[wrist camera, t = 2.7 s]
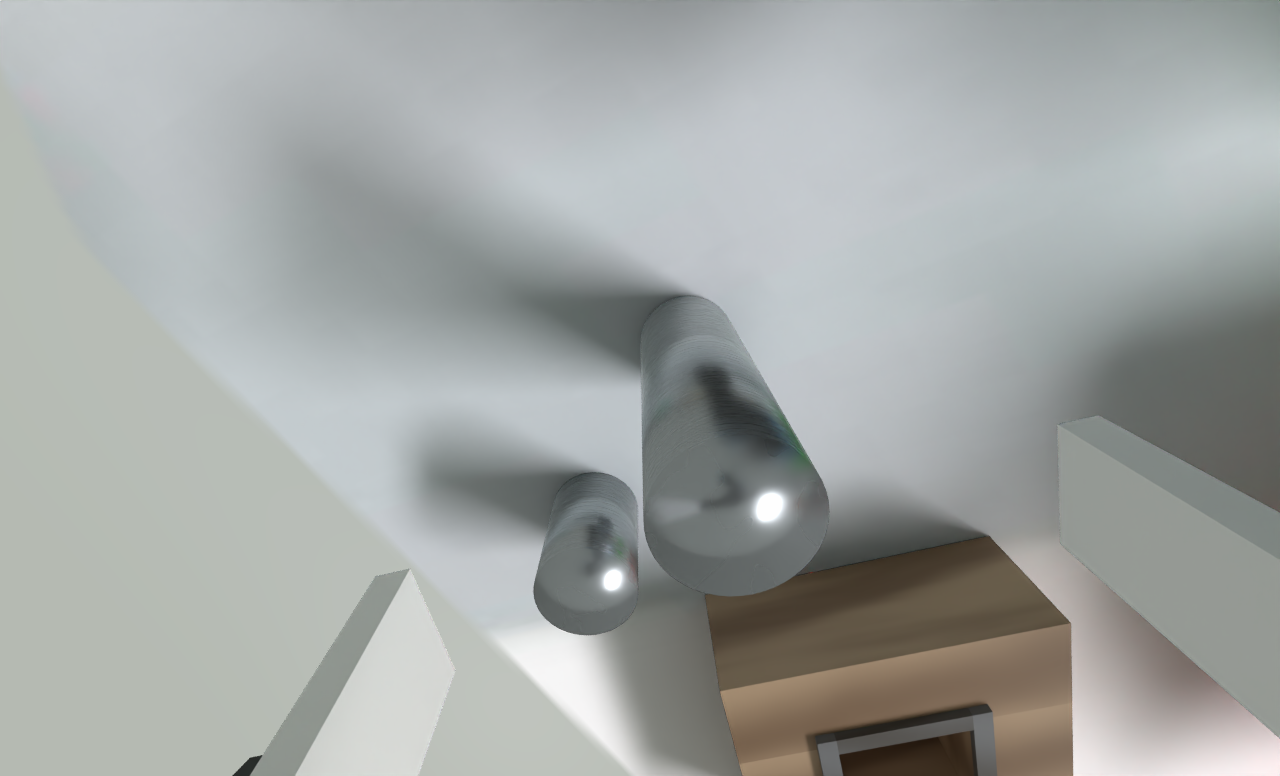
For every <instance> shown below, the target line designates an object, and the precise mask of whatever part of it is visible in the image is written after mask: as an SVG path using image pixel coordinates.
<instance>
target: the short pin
mask: <svg viewBox="0 0 1280 776" xmlns="http://www.w3.org/2000/svg"><path fill="white" fill-rule="evenodd" d="M534 599H535V603H536V605H537V607H538V609H539V611H540V612H541V614H542V615H543V616H544V617H545V619H546V620H548V621H549V622H550V623H551V624H553V625H554V626H556V627H557V628H559V629H561V630H564V631H566V632H569V633H573V634H579V635H596V634H601V633H605V632H608V631H610V630H613V629H615V628H617V627H618V626H620V625H621V624H623V623H624V622H625V621H626V620H627V619H628V618H629V617H630V615H631V614H632V612H633V611H634V609H635V606H636V604H637V600H638V505H637V501H636V498H635V496H634V494H633V492H632V491H631V489H630V488H629V487H628V486H627V485H626V484H625V483H624V482H622V481H621V480H619V479H618V478H616V477H614V476H611V475H608V474H604V473H585V474H581V475H578V476H576V477H574V478H572V479H570V480H569V481H567V482H566V483H565V484H564V485H563V486H562V487H561V488H560V490H559V491H558V493H557V495H556V497H555V500H554V504H553V508H552V512H551V516H550V521H549V525H548V529H547V533H546V537H545V541H544V545H543V549H542V553H541V558H540V562H539V566H538V570H537V574H536V578H535V583H534Z"/></svg>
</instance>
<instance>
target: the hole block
mask: <svg viewBox="0 0 1280 776" xmlns="http://www.w3.org/2000/svg"><path fill="white" fill-rule="evenodd" d="M705 599H706V606H707V612H708V619H709V625H710V631H711V638H712V644H713V651H714V657H715V664H716V670H717V676H718V683H719V689H720V694H721V698H722V701H723V705H724V709H725V713H726V716H727V720H728V724H729V728H730V731H731V735H732V739H733V742H734V746H735V750H736V754H737V757H738V761H739V765H740V769H741V772H742V776H1073V735H1072V665H1071V623H1070V622H1069V621H1068V619H1067V618H1066V617H1065V616H1064V615H1063V614H1062V613H1061V612H1060V611H1059V610H1058V609H1057V608H1056V607H1055V606H1054V605H1053V604H1052V602H1051V601H1050V600H1049V599H1048V598H1047V597H1046V596H1045V595H1044V594H1043V593H1042V592H1041V591H1040V590H1039V589H1038V588H1037V586H1036V585H1035V584H1034V583H1033V582H1032V581H1031V580H1030V579H1029V578H1028V577H1027V576H1026V575H1025V574H1024V573H1023V572H1022V570H1021V569H1020V568H1019V567H1018V566H1017V565H1016V564H1015V563H1014V562H1013V561H1012V560H1011V559H1010V558H1009V557H1008V556H1007V555H1006V553H1005V552H1004V551H1003V550H1002V549H1001V548H1000V547H999V546H998V545H997V544H996V543H995V542H994V541H993V540H992V539H991V537H990V536H987V537H982V538H977V539H973V540H968V541H963V542H958V543H953V544H949V545H944V546H939V547H934V548H929V549H924V550H920V551H915V552H910V553H905V554H900V555H895V556H891V557H886V558H881V559H876V560H871V561H867V562H862V563H857V564H852V565H847V566H842V567H838V568H833V569H828V570H823V571H818V572H814V573H809V574H804V575H799V576H794V577H792V578H791V579H789V580H788V581H786V582H784V583H782V584H780V585H778V586H776V587H774V588H772V589H769V590H766V591H763V592H760V593H756V594H751V595H745V596H718V595H712V594H708V595H705Z"/></svg>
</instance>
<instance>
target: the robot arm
mask: <svg viewBox="0 0 1280 776" xmlns="http://www.w3.org/2000/svg"><path fill="white" fill-rule="evenodd" d="M1057 434H1058V474H1059V515H1060V544H1061V545H1062V546H1063V547H1064V548H1065V549H1067V550H1068V551H1069V552H1070V553H1071V554H1072V555H1073V556H1074V557H1076V558H1077V559H1078V560H1079V561H1080V562H1081V563H1082V564H1083V565H1085V566H1086V567H1087V568H1088V569H1089V570H1090V571H1091V572H1092V573H1094V574H1095V575H1096V576H1097V577H1098V578H1099V579H1100V580H1101V581H1103V582H1104V583H1105V584H1106V585H1107V586H1108V587H1109V588H1111V589H1112V590H1113V591H1114V592H1115V593H1116V594H1117V595H1118V596H1120V597H1121V598H1122V599H1123V600H1124V601H1125V602H1126V603H1127V604H1129V605H1130V606H1131V607H1132V608H1133V609H1134V610H1135V611H1136V612H1138V613H1139V614H1140V615H1141V616H1142V617H1143V618H1144V619H1145V620H1147V621H1148V622H1149V623H1150V624H1151V625H1152V626H1153V627H1154V628H1156V629H1157V630H1158V631H1159V632H1160V633H1161V634H1162V635H1164V636H1165V637H1166V638H1167V639H1168V640H1169V641H1170V642H1171V643H1173V644H1174V645H1175V646H1176V647H1177V648H1178V649H1179V650H1180V651H1182V652H1183V653H1184V654H1185V655H1186V656H1187V657H1188V658H1189V659H1191V660H1192V661H1193V662H1194V663H1195V664H1196V665H1197V666H1198V667H1200V668H1201V669H1202V670H1203V671H1204V672H1205V673H1206V674H1207V675H1209V676H1210V677H1211V678H1212V679H1213V680H1214V681H1215V682H1216V683H1218V684H1219V685H1220V686H1221V687H1222V688H1223V689H1224V690H1226V691H1227V692H1228V693H1229V694H1230V695H1231V696H1232V697H1233V698H1235V699H1236V700H1237V701H1238V702H1239V703H1240V704H1241V705H1242V706H1244V707H1245V708H1246V709H1247V710H1248V711H1249V712H1250V713H1251V714H1253V715H1254V716H1255V717H1256V718H1257V719H1258V720H1259V721H1260V722H1262V723H1263V724H1264V725H1265V726H1266V727H1267V728H1268V729H1269V730H1271V731H1272V732H1273V733H1274V734H1275V735H1276V736H1277V737H1279V738H1280V512H1278V511H1276V510H1274V509H1272V508H1271V507H1269V506H1267V505H1265V504H1263V503H1261V502H1259V501H1258V500H1256V499H1254V498H1252V497H1250V496H1248V495H1246V494H1244V493H1243V492H1241V491H1239V490H1237V489H1235V488H1233V487H1231V486H1230V485H1228V484H1226V483H1224V482H1222V481H1220V480H1218V479H1217V478H1215V477H1213V476H1211V475H1209V474H1207V473H1205V472H1203V471H1202V470H1200V469H1198V468H1196V467H1194V466H1192V465H1190V464H1189V463H1187V462H1185V461H1183V460H1181V459H1179V458H1177V457H1176V456H1174V455H1172V454H1170V453H1168V452H1166V451H1164V450H1162V449H1161V448H1159V447H1157V446H1155V445H1153V444H1151V443H1149V442H1148V441H1146V440H1144V439H1142V438H1140V437H1138V436H1136V435H1135V434H1133V433H1131V432H1129V431H1127V430H1125V429H1123V428H1121V427H1120V426H1118V425H1116V424H1114V423H1112V422H1110V421H1108V420H1107V419H1105V418H1103V417H1101V416H1099V415H1096V416H1092V417H1087V418H1083V419H1078V420H1074V421H1069V422H1065V423H1060V424H1057ZM454 673H455V668H454V666H453V664H452V661H451V659H450V657H449V655H448V652H447V650H446V648H445V646H444V643H443V641H442V639H441V637H440V634H439V632H438V630H437V628H436V625H435V623H434V621H433V619H432V617H431V614H430V612H429V610H428V608H427V605H426V603H425V601H424V599H423V596H422V594H421V592H420V590H419V588H418V585H417V583H416V581H415V578H414V576H413V574H412V572H411V569H406V570H402V571H397V572H393V573H388V574H384V575H379V576H375V578H374V580H373V581H372V583H371V584H370V586H369V587H368V589H367V590H366V592H365V594H364V595H363V597H362V598H361V600H360V602H359V603H358V605H357V606H356V608H355V609H354V611H353V613H352V614H351V616H350V618H349V619H348V621H347V622H346V624H345V626H344V627H343V629H342V630H341V632H340V633H339V635H338V637H337V638H336V640H335V642H334V643H333V644H332V646H331V648H330V649H329V651H328V652H327V654H326V656H325V657H324V659H323V660H322V662H321V664H320V665H319V667H318V668H317V670H316V671H315V673H314V675H313V676H312V678H311V680H310V681H309V683H308V684H307V686H306V687H305V689H304V690H303V692H302V694H301V695H300V697H299V698H298V700H297V702H296V703H295V705H294V706H293V708H292V709H291V711H290V713H289V714H288V716H287V718H286V720H285V721H284V722H283V724H282V725H281V727H280V729H279V730H278V732H277V733H276V735H275V736H274V738H273V740H272V741H271V743H270V744H269V746H268V748H267V749H266V751H265V752H264V754H263V755H261V756H257V757H252V758H249V760H247V762H245V763H244V765H243V766H242V767H241V768H240V769H239V770H238V771H237V772H236V773H235V774H234V775H233V776H418V775H419V772H420V770H421V767H422V764H423V761H424V758H425V755H426V753H427V749H428V747H429V744H430V741H431V738H432V735H433V733H434V730H435V727H436V724H437V721H438V718H439V716H440V713H441V710H442V707H443V704H444V702H445V699H446V696H447V693H448V690H449V687H450V685H451V682H452V679H453V676H454Z"/></svg>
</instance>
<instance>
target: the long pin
mask: <svg viewBox="0 0 1280 776" xmlns="http://www.w3.org/2000/svg"><path fill="white" fill-rule="evenodd" d="M641 400H642V459H643V517H644V531H645V536H646V540H647V543H648V546H649V548H650V550H651V552H652V554H653V556H654V558H655V559H656V561H657V562H658V563H659V564H660V566H661V567H662V568H663V569H664V570H665V571H666V572H667V573H668V574H669V575H670V576H672V577H673V578H674V579H676V580H677V581H679V582H680V583H682V584H684V585H685V586H687V587H690V588H692V589H694V590H697V591H700V592H703V593H707V594H712V595H718V596H745V595H751V594H756V593H760V592H763V591H766V590H769V589H772V588H774V587H776V586H778V585H780V584H782V583H784V582H786V581H788V580H789V579H791V578H792V577H794V576H795V575H796V574H797V573H799V572H800V571H801V570H802V569H803V568H804V567H805V566H806V565H807V564H808V563H809V562H810V561H811V560H812V558H813V557H814V555H815V554H816V553H817V551H818V550H819V548H820V546H821V544H822V542H823V540H824V537H825V534H826V531H827V527H828V522H829V501H828V496H827V492H826V489H825V486H824V484H823V482H822V479H821V478H820V476H819V474H818V473H817V471H816V469H815V467H814V466H813V464H812V462H811V460H810V459H809V457H808V455H807V454H806V452H805V450H804V448H803V447H802V445H801V443H800V441H799V440H798V438H797V436H796V434H795V433H794V431H793V429H792V428H791V426H790V424H789V422H788V421H787V419H786V417H785V415H784V414H783V412H782V410H781V409H780V407H779V405H778V403H777V402H776V400H775V398H774V396H773V395H772V393H771V391H770V389H769V388H768V386H767V384H766V383H765V381H764V379H763V377H762V376H761V374H760V372H759V370H758V369H757V367H756V365H755V364H754V362H753V360H752V358H751V357H750V355H749V353H748V351H747V350H746V348H745V346H744V345H743V343H742V341H741V339H740V338H739V336H738V334H737V332H736V331H735V329H734V327H733V325H732V324H731V322H730V320H729V319H728V317H727V315H726V314H725V313H724V312H723V310H722V309H721V308H719V307H718V306H717V305H716V304H714V303H713V302H711V301H709V300H707V299H704V298H701V297H696V296H681V297H676V298H673V299H670V300H668V301H666V302H664V303H662V304H661V305H659V306H658V307H657V308H656V309H655V310H654V311H653V312H652V313H651V314H650V316H649V317H648V318H647V320H646V322H645V324H644V327H643V329H642V333H641Z"/></svg>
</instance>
